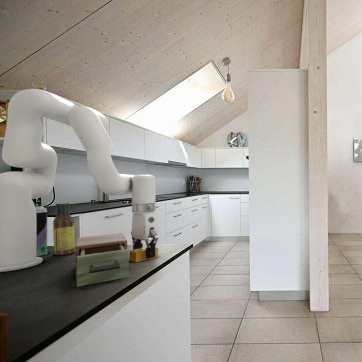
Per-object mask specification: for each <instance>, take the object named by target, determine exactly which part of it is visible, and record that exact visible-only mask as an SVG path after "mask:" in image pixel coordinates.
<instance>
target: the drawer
mask: <svg viewBox="0 0 362 362" xmlns="http://www.w3.org/2000/svg"><path fill="white" fill-rule="evenodd" d="M129 251H130V250H129V249H128V248H127V249H124V247H123V245H122V243H121V244H114V245H106V246H98V247H90V248H82V249H81V256H77V280H76V287H77V288H80V287H84V286H89V285H94V284H99V283H104V282H109V281H115V280H119V279H124V278H125V279H126V278H129V276H130V275H129V274H130V273H129V272H130V271H129V263H130V260H129Z"/></svg>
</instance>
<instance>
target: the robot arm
mask: <svg viewBox="0 0 362 362" xmlns="http://www.w3.org/2000/svg"><path fill="white" fill-rule="evenodd" d="M41 118H46V119H49V120H52V121H55V122H58V123H60V124H63V125H66V126H69V127H72V129H73V131H74V133H75V135H76V137H77V139H78V140H79V142H80V143H81V145H82V147H83V149H84V151H85V152H86V161H87V167H88V171H89V173H90V176H91V177H92V179H93V180H94V182H95V184H96V186H97V187H98V189H99V190H100V191H101V192H102V193H104V194H105V195H107V196H112V197H113V196H122V195H131V213H132V217H131V218H132V219H131V231H130V236H131V240H132V241H131V242H132V250H135V249H140V248H144V245H143V244H144V242H145V245H146V247H147V248H146V259H148V260H150V259H149V258H151V259H154V258H153V257H155V247H157V243H158V240H159V239H160V237H159V223H158V215H157V212H156V211H157V210H156V208H157V207H156V205H157V204H156V197H157V196H156V195H157V194H156V189H157V187H156V186H157V185H156V184H157V183H156V177H155V176H154V175H153V174H127V173H126V174H125V173H119V171H118V169H117V167H116V166H115V164H114V161H113V159H112V152H113V150H114V148H115V145H114V142H113V140H112V138H111V136H110V135H109V133H108V129H109V125H110V124H109V120H108V118H107V117H106V116H105V115H104V114H103V113H101V112H99V111H97V110H96V109H93V108H92V107H88V106H85V105H79V104H76V103H74V102H72V101H70V100H69V101H68V100H67V99H65V98H62V97H60V96H58V95H56V94H54V93H52V92H49V91H47V90H43V89H39V88H26V89H22V90H19V91H18V92H16V93H15V94H13V96H12V97H11V98H10V100H9V102H8V105H7V120H6V127H5V133H4V137H3V138H4V139H3V145H2V151H1V158H2V160H3V162H4V163H5V164H6V165H7V166H10V167H14V168H20V169H23V171H17V170H16V171H4V172H2V173H0V273H2V272H11V271H17V270H24V269H27V268H31V267H34V266H38V265H40V264H41V263H43V262H44V261H43V260H44V259H43V257H40V256H36V208H35V205H34V203H35V202H34V201H33V199H34V200H35V199H40V198H44V197H46V196H48V195H49V194H50V193H51V192H52V190H53V189H54V186H55V179H56V173H57V166H58V155H57V152H56V151H55V149H54V148H53V147H51V146H50V145H48V144H47V143H43V142H42V140H43V134H44V128H43V123H42V120H41ZM142 241H143V242H142ZM155 258H156V257H155Z"/></svg>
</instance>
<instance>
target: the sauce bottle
mask: <svg viewBox="0 0 362 362" xmlns="http://www.w3.org/2000/svg"><path fill="white" fill-rule="evenodd" d="M70 205H71V204H70V202H58V203H55V208H56V216H55V218H54V219H53V222H52V225H53V228H52V235H53V251H54V255H55V256H65V255H70V254H73V253H75V252H76V235H75V222H74V220H73V217H72V215H71V213H70V207H71V206H70Z"/></svg>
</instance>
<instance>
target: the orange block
mask: <svg viewBox="0 0 362 362" xmlns="http://www.w3.org/2000/svg"><path fill="white" fill-rule="evenodd" d="M146 248H147V246H145V247H144V246H143V248H140V249H135V250H133V249H131V250H129V262H132V263H140V262H143V261H147V260H151V259H155V258H158V257H159V247H158V246H155V257H153V258H149V259H146Z"/></svg>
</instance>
